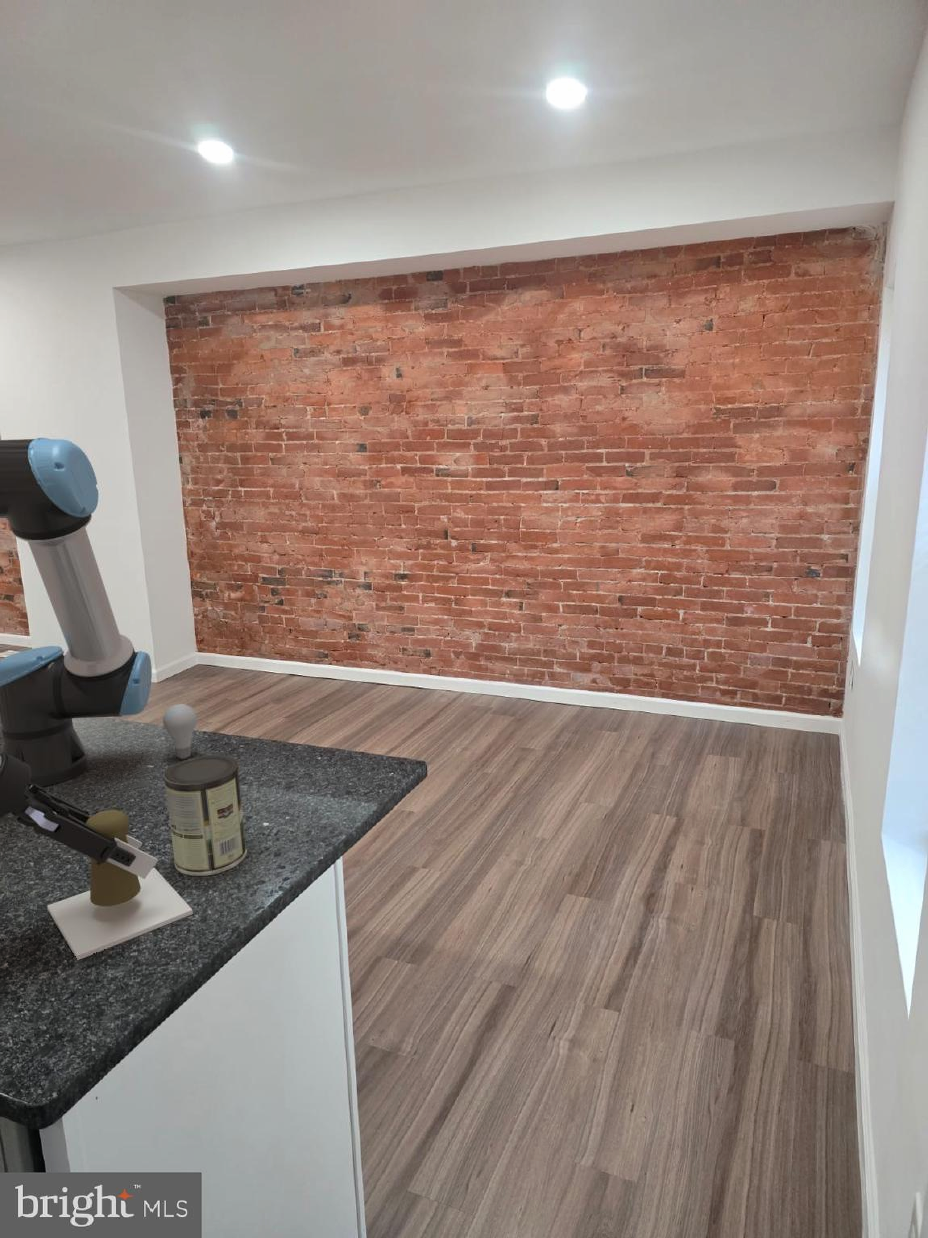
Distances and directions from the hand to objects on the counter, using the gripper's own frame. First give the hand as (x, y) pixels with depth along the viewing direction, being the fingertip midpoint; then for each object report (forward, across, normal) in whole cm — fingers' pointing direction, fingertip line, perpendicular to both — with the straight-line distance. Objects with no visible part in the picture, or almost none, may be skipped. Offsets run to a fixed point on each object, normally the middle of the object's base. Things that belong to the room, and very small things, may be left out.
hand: (142, 859), depth 105 cm
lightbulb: (+20, -45, +12) cm, 51 cm away
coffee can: (+12, -5, +3) cm, 14 cm away
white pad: (+2, 0, -7) cm, 7 cm away
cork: (0, 0, -5) cm, 5 cm away
